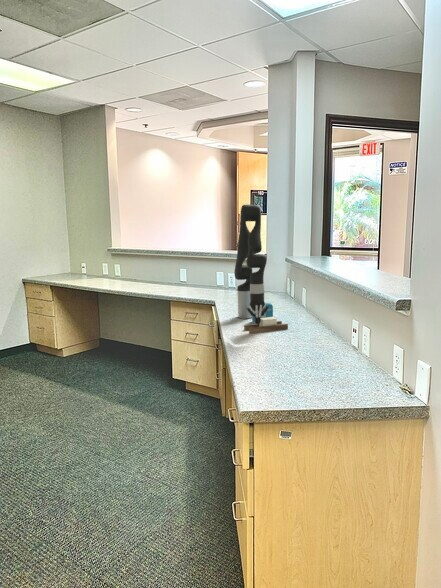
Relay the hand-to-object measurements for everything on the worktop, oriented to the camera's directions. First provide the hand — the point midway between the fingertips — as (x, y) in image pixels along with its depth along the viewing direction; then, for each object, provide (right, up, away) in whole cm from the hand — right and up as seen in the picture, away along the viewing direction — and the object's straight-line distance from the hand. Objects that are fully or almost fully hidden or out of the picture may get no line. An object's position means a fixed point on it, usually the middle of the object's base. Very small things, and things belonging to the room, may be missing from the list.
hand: (257, 323), depth 228 cm
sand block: (+6, -3, +2) cm, 7 cm away
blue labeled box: (+5, -2, +21) cm, 21 cm away
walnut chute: (+5, -5, +2) cm, 7 cm away
